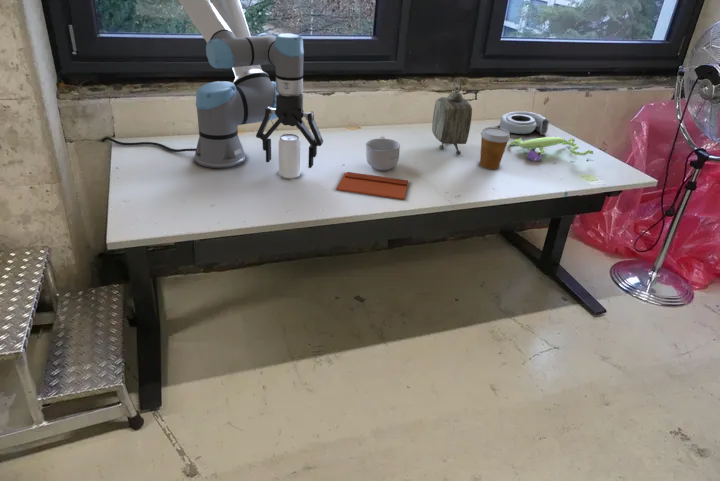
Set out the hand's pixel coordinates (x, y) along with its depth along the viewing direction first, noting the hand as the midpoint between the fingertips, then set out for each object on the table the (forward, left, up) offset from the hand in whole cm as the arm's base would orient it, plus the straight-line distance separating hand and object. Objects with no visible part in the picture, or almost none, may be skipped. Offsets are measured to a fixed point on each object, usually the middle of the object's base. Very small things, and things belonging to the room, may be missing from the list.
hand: (289, 163), depth 163 cm
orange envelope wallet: (+26, 0, -4) cm, 26 cm away
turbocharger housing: (+74, +72, -4) cm, 103 cm away
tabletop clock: (+46, +39, -4) cm, 60 cm away
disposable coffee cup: (+61, +29, -4) cm, 68 cm away
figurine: (+83, +48, -4) cm, 96 cm away
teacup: (+26, +17, -4) cm, 31 cm away
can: (0, 0, -4) cm, 4 cm away
